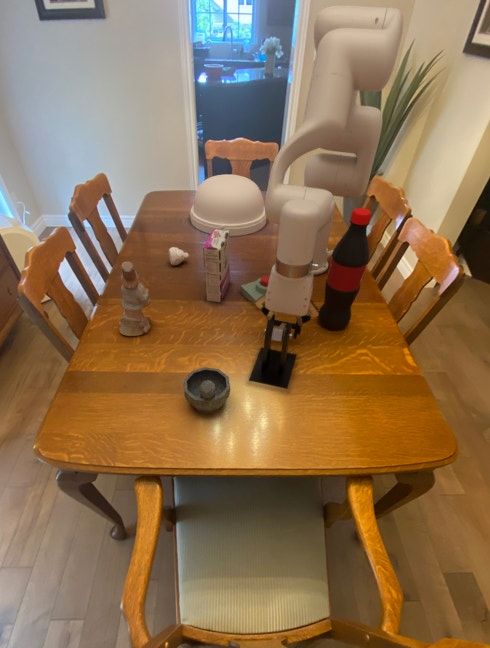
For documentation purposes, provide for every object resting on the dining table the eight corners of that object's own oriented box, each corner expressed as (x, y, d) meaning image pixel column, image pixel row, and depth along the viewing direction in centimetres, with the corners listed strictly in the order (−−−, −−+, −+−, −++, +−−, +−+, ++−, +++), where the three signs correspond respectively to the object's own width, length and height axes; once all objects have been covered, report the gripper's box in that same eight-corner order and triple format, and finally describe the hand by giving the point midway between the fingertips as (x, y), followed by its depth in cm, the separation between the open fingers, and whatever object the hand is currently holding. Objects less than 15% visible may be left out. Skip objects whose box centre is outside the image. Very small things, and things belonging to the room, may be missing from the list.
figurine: (144, 341, 94) (128, 269, 79) (114, 334, 95) (93, 262, 80) (158, 321, 99) (146, 250, 84) (130, 315, 101) (114, 244, 86)
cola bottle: (349, 319, 101) (384, 205, 79) (345, 337, 96) (381, 221, 74) (319, 313, 103) (345, 200, 81) (313, 330, 98) (339, 214, 75)
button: (268, 279, 108) (269, 274, 106) (275, 285, 106) (276, 280, 104) (258, 282, 106) (258, 277, 105) (265, 288, 104) (265, 283, 103)
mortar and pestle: (185, 390, 83) (180, 350, 74) (226, 387, 84) (226, 347, 74) (187, 430, 75) (182, 391, 66) (232, 426, 76) (233, 387, 67)
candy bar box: (214, 281, 113) (212, 228, 101) (229, 283, 113) (230, 229, 100) (205, 301, 106) (202, 246, 94) (221, 303, 105) (221, 248, 93)
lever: (273, 326, 91) (274, 317, 90) (294, 330, 90) (296, 321, 89) (263, 338, 79) (265, 327, 78) (288, 343, 78) (290, 332, 77)
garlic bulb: (191, 265, 119) (189, 249, 115) (173, 268, 118) (171, 252, 114) (186, 258, 122) (185, 242, 118) (169, 260, 121) (167, 244, 117)
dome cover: (199, 200, 155) (197, 162, 145) (269, 205, 153) (272, 167, 142) (181, 233, 134) (178, 192, 124) (262, 240, 132) (265, 198, 121)
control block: (273, 281, 114) (274, 270, 111) (292, 298, 108) (293, 285, 105) (240, 291, 110) (240, 279, 107) (257, 309, 104) (258, 297, 101)
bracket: (260, 350, 92) (264, 307, 83) (295, 357, 91) (304, 315, 81) (248, 383, 84) (251, 340, 75) (286, 391, 83) (294, 349, 73)
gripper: (335, 263, 78) (319, 330, 92) (258, 251, 81) (253, 318, 95) (331, 281, 74) (315, 349, 87) (249, 267, 77) (246, 335, 90)
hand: (283, 332), depth 91 cm, fingers closed on lever, 5 cm apart
